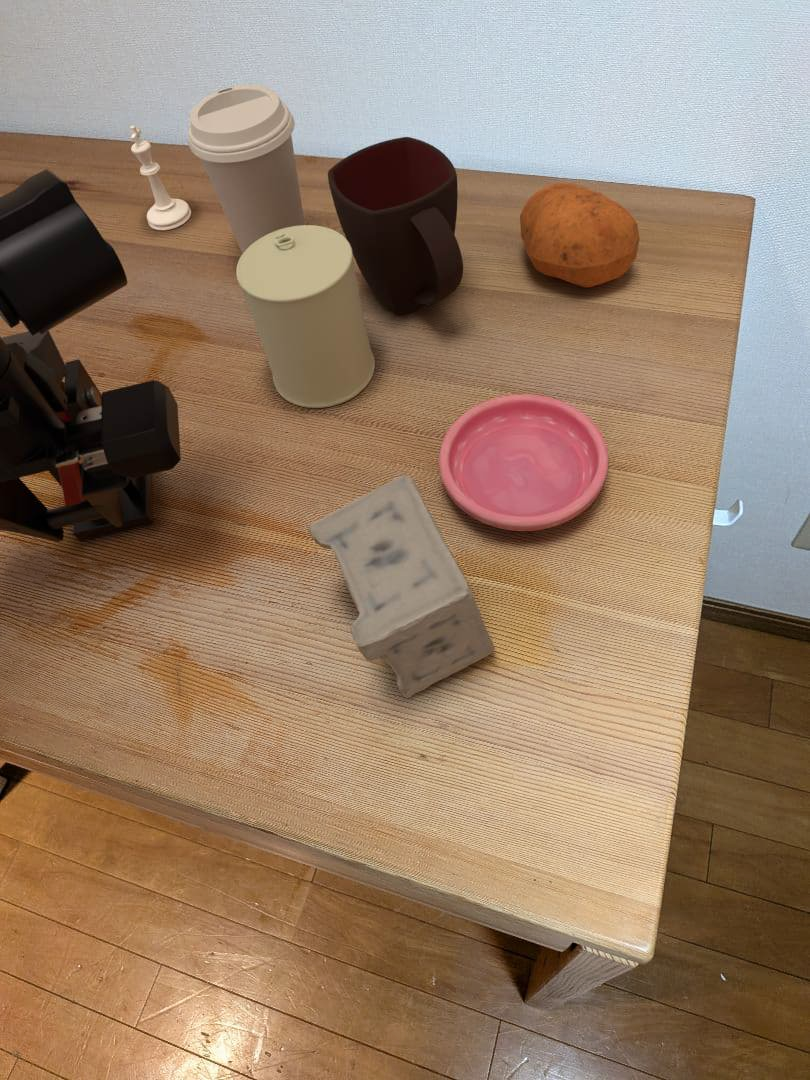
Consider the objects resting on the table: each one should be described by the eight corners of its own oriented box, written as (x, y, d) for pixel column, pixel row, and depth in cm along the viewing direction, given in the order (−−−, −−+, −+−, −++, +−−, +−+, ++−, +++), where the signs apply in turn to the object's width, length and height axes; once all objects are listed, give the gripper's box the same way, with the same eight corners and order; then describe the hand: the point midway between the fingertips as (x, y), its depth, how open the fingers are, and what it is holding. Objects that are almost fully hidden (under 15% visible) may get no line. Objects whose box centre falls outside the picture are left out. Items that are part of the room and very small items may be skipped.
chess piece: (142, 231, 82) (101, 141, 74) (156, 204, 84) (118, 114, 76) (183, 230, 81) (147, 139, 73) (196, 203, 84) (162, 112, 75)
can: (352, 322, 70) (326, 205, 60) (391, 383, 65) (370, 266, 55) (261, 358, 68) (219, 244, 58) (293, 423, 63) (253, 310, 53)
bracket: (153, 524, 59) (83, 424, 49) (79, 542, 59) (-6, 445, 49) (150, 441, 64) (86, 336, 54) (82, 458, 64) (6, 355, 54)
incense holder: (334, 593, 54) (300, 510, 45) (439, 550, 55) (426, 461, 46) (382, 712, 48) (355, 644, 40) (498, 662, 49) (496, 584, 41)
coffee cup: (327, 225, 78) (294, 74, 66) (320, 283, 73) (282, 132, 61) (240, 233, 79) (191, 86, 67) (226, 291, 74) (170, 143, 62)
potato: (554, 317, 67) (559, 244, 61) (500, 250, 73) (499, 177, 67) (645, 284, 68) (659, 209, 62) (584, 220, 74) (591, 146, 68)
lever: (114, 518, 53) (100, 513, 51) (59, 531, 53) (43, 527, 51) (86, 386, 55) (71, 375, 52) (33, 399, 54) (16, 389, 52)
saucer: (621, 438, 58) (626, 410, 56) (580, 566, 52) (584, 542, 50) (472, 406, 62) (470, 378, 59) (418, 522, 56) (413, 498, 54)
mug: (424, 246, 75) (411, 126, 65) (502, 320, 67) (502, 198, 57) (338, 287, 73) (311, 169, 63) (409, 367, 65) (392, 249, 55)
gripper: (124, 248, 46) (208, 420, 59) (-175, 318, 45) (-24, 476, 58) (125, 369, 40) (219, 532, 52) (-222, 452, 39) (-41, 595, 52)
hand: (90, 529), depth 54 cm, fingers open, 4 cm apart
